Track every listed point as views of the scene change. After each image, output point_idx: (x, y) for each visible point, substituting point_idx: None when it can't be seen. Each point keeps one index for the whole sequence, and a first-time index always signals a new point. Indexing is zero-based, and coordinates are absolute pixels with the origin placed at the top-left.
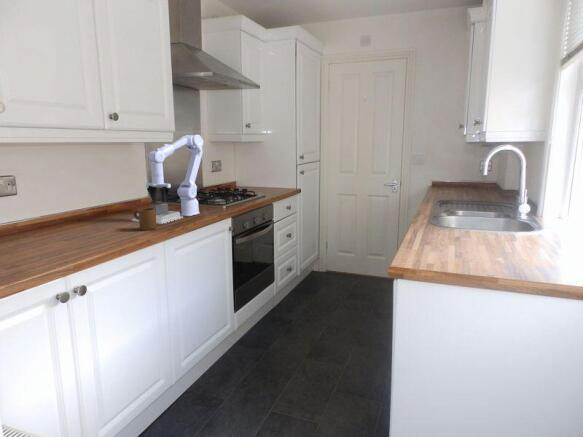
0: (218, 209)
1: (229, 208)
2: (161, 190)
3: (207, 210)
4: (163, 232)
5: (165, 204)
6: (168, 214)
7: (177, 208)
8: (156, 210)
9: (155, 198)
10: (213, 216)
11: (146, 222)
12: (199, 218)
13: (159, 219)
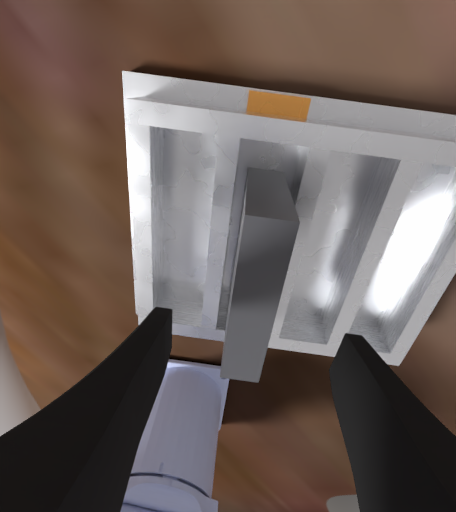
0: None
1: None
2: (21, 479)
3: None
4: None
5: (223, 350)
6: (143, 224)
7: (346, 488)
8: (244, 203)
9: (339, 390)
10: (21, 369)
11: None
12: (43, 317)
13: (162, 100)
